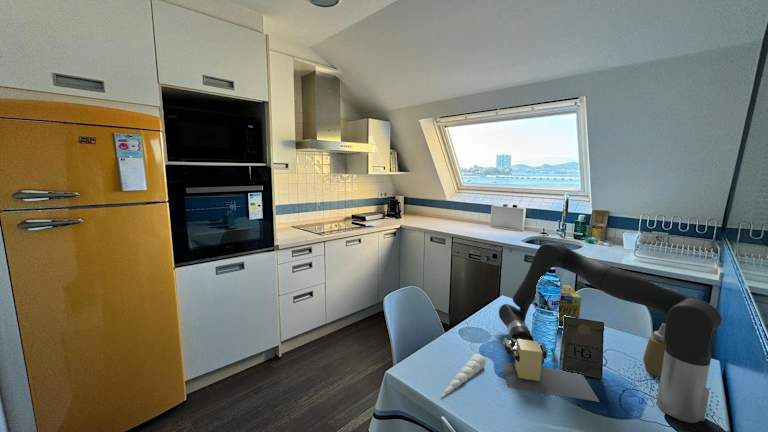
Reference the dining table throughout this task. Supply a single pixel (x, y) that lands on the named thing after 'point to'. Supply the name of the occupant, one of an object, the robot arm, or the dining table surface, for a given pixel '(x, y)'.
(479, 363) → the unicorn horn
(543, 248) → the robot arm
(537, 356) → the tall cream block
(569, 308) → the protein box
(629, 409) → the dining table surface
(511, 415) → the dining table surface
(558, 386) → the mat
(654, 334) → the squeeze bottle
